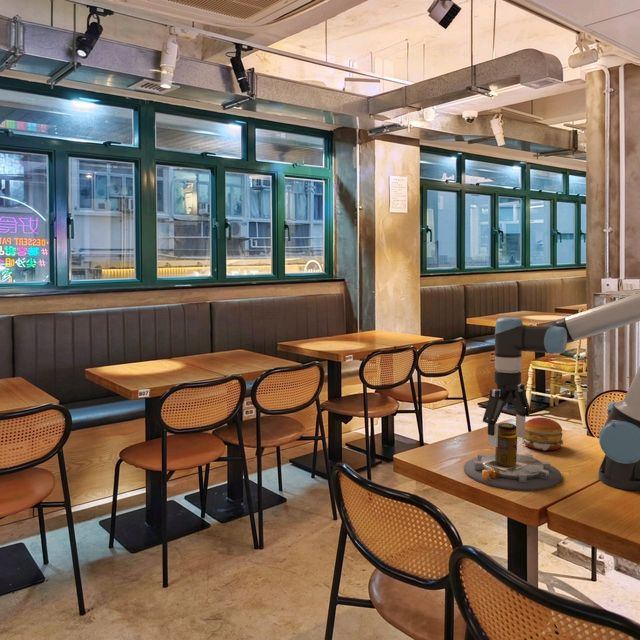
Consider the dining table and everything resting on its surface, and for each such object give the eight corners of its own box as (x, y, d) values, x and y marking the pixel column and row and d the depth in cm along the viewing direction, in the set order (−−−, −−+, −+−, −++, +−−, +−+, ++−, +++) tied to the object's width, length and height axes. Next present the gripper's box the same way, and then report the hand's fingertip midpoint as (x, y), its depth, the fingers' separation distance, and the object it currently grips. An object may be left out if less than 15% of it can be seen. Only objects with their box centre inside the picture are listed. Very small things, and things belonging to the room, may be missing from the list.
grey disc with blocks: (524, 455, 200) (525, 430, 199) (566, 478, 178) (567, 451, 178) (461, 460, 195) (461, 435, 194) (497, 485, 173) (498, 457, 172)
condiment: (522, 465, 183) (524, 425, 182) (504, 471, 178) (505, 430, 177) (502, 458, 189) (503, 420, 188) (484, 464, 184) (485, 424, 183)
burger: (560, 442, 218) (561, 415, 217) (565, 454, 205) (566, 424, 204) (520, 440, 221) (521, 412, 220) (523, 451, 208) (523, 422, 207)
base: (579, 475, 184) (580, 464, 184) (525, 498, 167) (526, 485, 167) (500, 452, 206) (500, 442, 206) (444, 470, 189) (445, 459, 188)
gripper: (521, 364, 192) (520, 431, 194) (470, 373, 176) (469, 446, 178) (543, 367, 186) (541, 436, 188) (492, 377, 171) (491, 452, 173)
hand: (506, 441), depth 183 cm, fingers open, 13 cm apart
